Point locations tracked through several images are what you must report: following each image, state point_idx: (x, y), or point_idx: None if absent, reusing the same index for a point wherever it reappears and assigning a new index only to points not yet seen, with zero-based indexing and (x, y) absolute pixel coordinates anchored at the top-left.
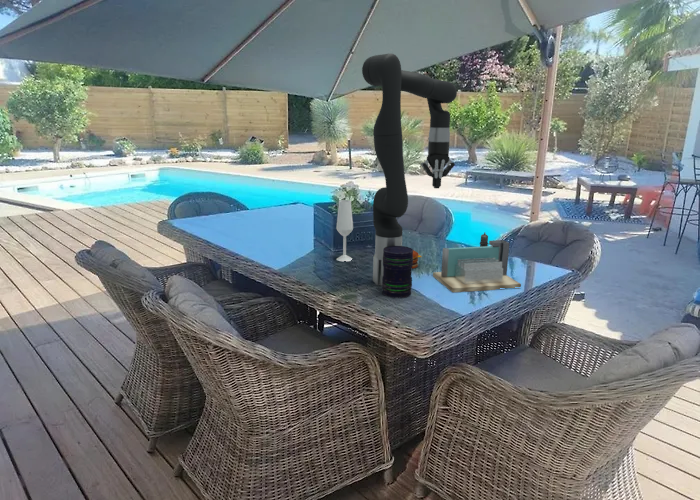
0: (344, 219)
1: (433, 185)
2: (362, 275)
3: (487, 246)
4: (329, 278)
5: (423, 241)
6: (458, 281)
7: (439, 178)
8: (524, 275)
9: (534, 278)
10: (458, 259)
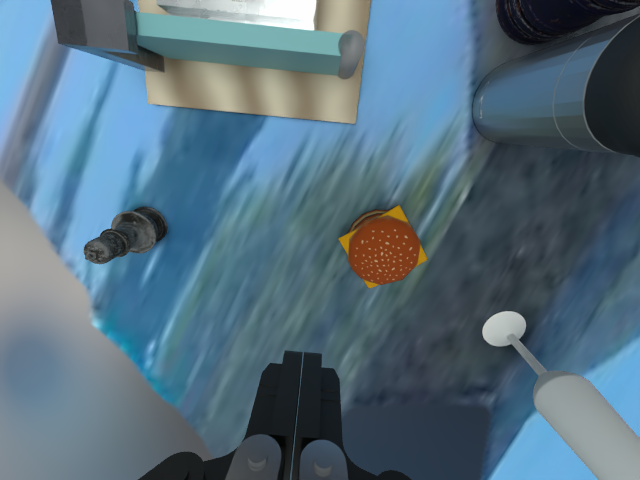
0: (611, 411)
1: (339, 382)
2: (538, 187)
3: (156, 34)
4: (635, 186)
5: (237, 414)
6: (325, 3)
7: (273, 436)
8: (74, 51)
9: None
10: (310, 15)
